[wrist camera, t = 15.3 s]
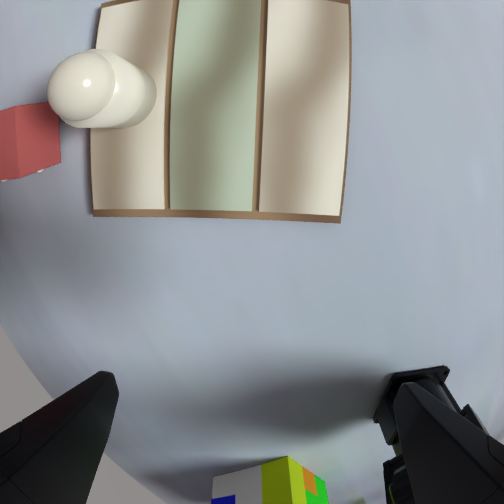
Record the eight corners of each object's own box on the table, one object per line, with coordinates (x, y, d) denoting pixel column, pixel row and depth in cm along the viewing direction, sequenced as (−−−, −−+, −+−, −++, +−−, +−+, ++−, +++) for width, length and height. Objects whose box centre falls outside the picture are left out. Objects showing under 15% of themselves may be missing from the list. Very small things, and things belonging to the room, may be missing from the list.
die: (15, 106, 11) (-25, 120, 11) (20, 184, 13) (-19, 188, 13) (61, 101, 15) (19, 112, 15) (64, 166, 17) (23, 170, 17)
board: (347, 3, 13) (351, -2, 12) (337, 220, 18) (341, 224, 17) (105, 6, 13) (100, 2, 12) (97, 214, 18) (91, 217, 17)
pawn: (158, 64, 14) (107, 28, 8) (156, 125, 15) (101, 122, 9) (101, 72, 14) (32, 50, 8) (98, 130, 15) (26, 135, 9)
